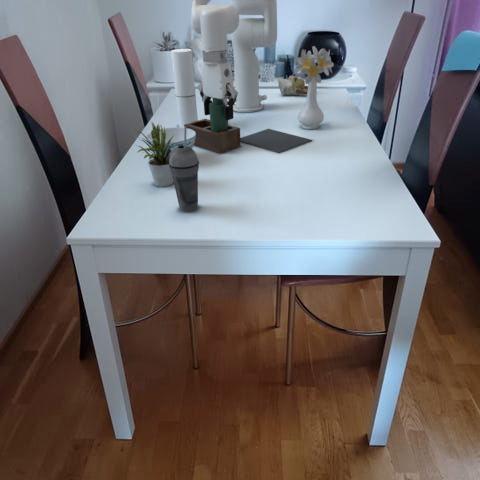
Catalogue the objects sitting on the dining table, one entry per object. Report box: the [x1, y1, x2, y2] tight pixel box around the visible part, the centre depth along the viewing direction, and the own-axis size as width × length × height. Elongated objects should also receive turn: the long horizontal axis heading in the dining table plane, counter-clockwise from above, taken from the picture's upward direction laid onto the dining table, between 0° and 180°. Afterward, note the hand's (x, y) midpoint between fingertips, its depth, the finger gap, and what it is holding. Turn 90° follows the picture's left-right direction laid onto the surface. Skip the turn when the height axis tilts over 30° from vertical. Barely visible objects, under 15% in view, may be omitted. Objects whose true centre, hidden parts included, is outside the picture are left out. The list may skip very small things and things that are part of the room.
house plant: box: [130, 121, 180, 188], centre depth 134 cm, size 14×14×16 cm
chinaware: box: [145, 127, 196, 156], centre depth 151 cm, size 15×15×8 cm
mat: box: [240, 128, 313, 154], centre depth 165 cm, size 16×20×1 cm
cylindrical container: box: [170, 48, 198, 128], centre depth 176 cm, size 7×7×25 cm
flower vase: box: [294, 45, 335, 130], centre depth 169 cm, size 13×18×25 cm
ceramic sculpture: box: [277, 73, 308, 96], centre depth 214 cm, size 11×9×15 cm
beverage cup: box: [169, 126, 200, 213], centre depth 118 cm, size 7×7×20 cm
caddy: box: [184, 118, 242, 154], centre depth 163 cm, size 9×17×6 cm, turn 44°
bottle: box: [209, 98, 229, 133], centre depth 157 cm, size 6×6×18 cm
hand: (218, 116), depth 156 cm, fingers open, 9 cm apart
